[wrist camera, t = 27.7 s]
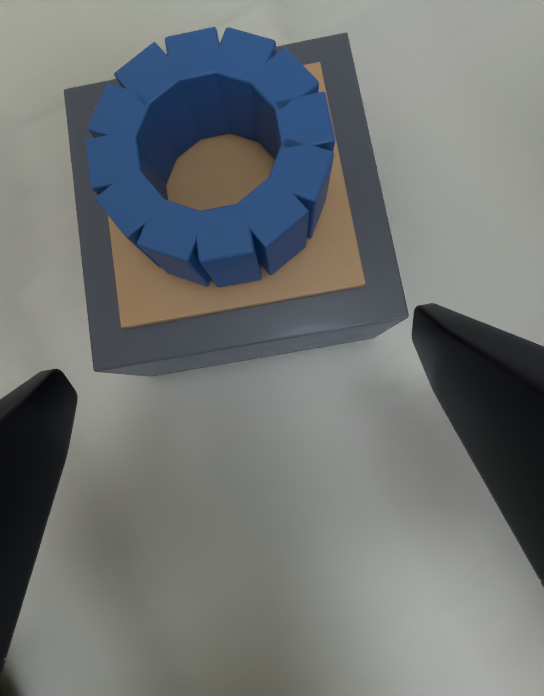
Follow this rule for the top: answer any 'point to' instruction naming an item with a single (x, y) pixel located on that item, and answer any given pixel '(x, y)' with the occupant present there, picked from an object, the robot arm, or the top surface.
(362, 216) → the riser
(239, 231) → the ring
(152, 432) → the top surface
